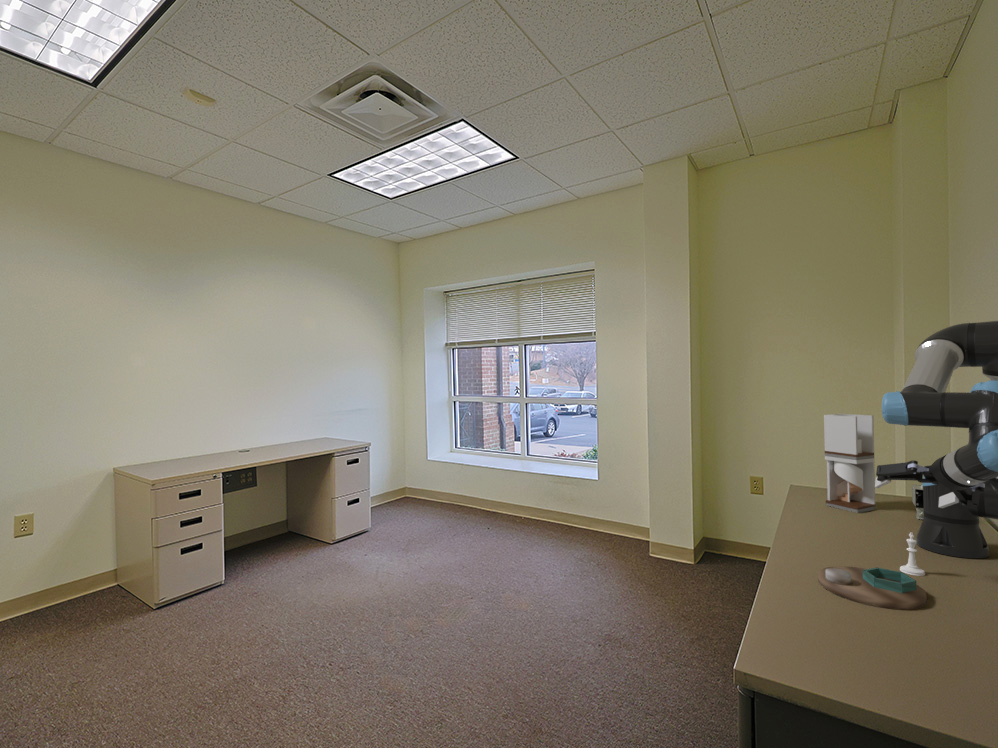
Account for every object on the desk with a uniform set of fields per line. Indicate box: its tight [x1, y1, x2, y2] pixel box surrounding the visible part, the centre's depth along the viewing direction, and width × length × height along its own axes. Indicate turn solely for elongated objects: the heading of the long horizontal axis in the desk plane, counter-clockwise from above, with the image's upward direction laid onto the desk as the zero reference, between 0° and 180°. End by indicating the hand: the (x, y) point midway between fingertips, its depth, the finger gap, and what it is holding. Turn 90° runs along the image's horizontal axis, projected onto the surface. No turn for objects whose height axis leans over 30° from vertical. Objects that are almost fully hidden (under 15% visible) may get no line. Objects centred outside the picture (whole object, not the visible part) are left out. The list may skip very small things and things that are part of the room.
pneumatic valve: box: [911, 483, 924, 521], centre depth 168 cm, size 6×12×12 cm, turn 145°
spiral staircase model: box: [823, 413, 876, 514], centre depth 184 cm, size 11×11×35 cm
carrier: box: [817, 565, 928, 611], centre depth 113 cm, size 20×20×4 cm
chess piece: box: [899, 531, 926, 577], centre depth 123 cm, size 5×5×10 cm
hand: (908, 492), depth 123 cm, fingers open, 13 cm apart
